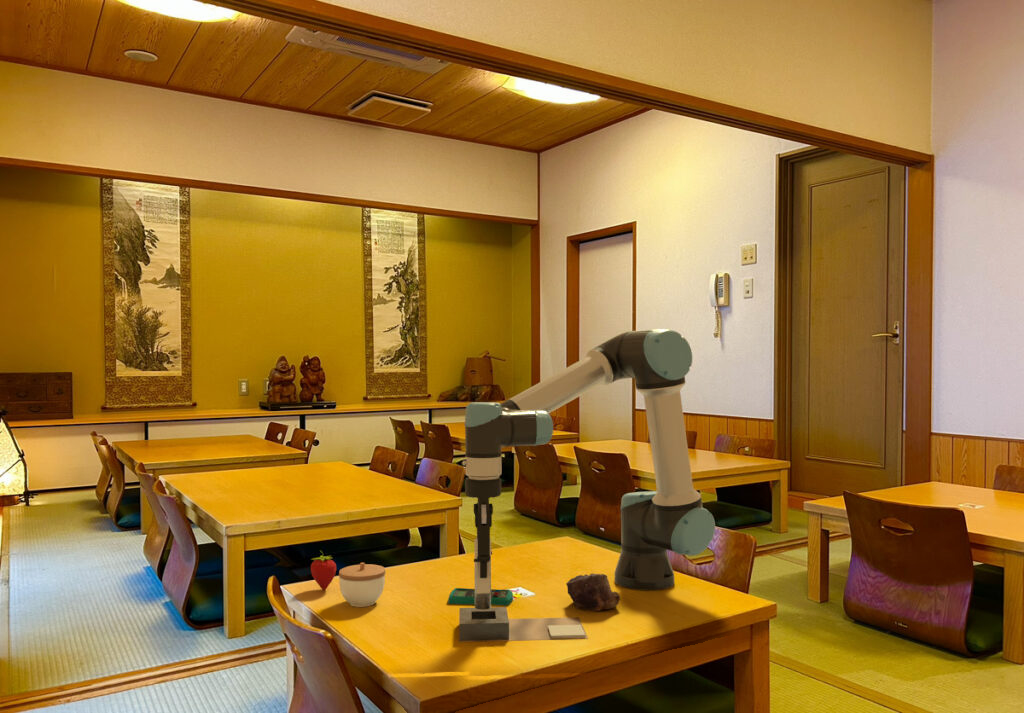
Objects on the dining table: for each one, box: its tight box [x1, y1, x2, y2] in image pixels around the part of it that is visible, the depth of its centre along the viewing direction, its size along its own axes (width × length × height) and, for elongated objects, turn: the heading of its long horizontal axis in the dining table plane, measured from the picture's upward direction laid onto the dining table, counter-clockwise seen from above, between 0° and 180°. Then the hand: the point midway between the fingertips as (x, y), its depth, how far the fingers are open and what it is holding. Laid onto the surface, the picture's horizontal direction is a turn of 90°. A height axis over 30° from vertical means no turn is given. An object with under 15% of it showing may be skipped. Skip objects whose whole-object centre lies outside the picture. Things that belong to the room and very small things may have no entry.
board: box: [458, 616, 589, 643], centre depth 161 cm, size 26×13×1 cm, turn 93°
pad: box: [548, 625, 585, 639], centre depth 158 cm, size 7×6×1 cm
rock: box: [565, 573, 621, 612], centre depth 175 cm, size 12×9×10 cm
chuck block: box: [458, 606, 509, 641], centre depth 159 cm, size 10×10×3 cm
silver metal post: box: [474, 537, 492, 610], centre depth 159 cm, size 3×3×15 cm
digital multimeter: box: [448, 587, 514, 607], centre depth 181 cm, size 7×15×3 cm, turn 84°
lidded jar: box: [338, 562, 386, 608], centre depth 181 cm, size 11×11×9 cm
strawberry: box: [310, 550, 337, 591], centre depth 191 cm, size 6×8×10 cm
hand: (483, 589), depth 159 cm, fingers closed on silver metal post, 3 cm apart
